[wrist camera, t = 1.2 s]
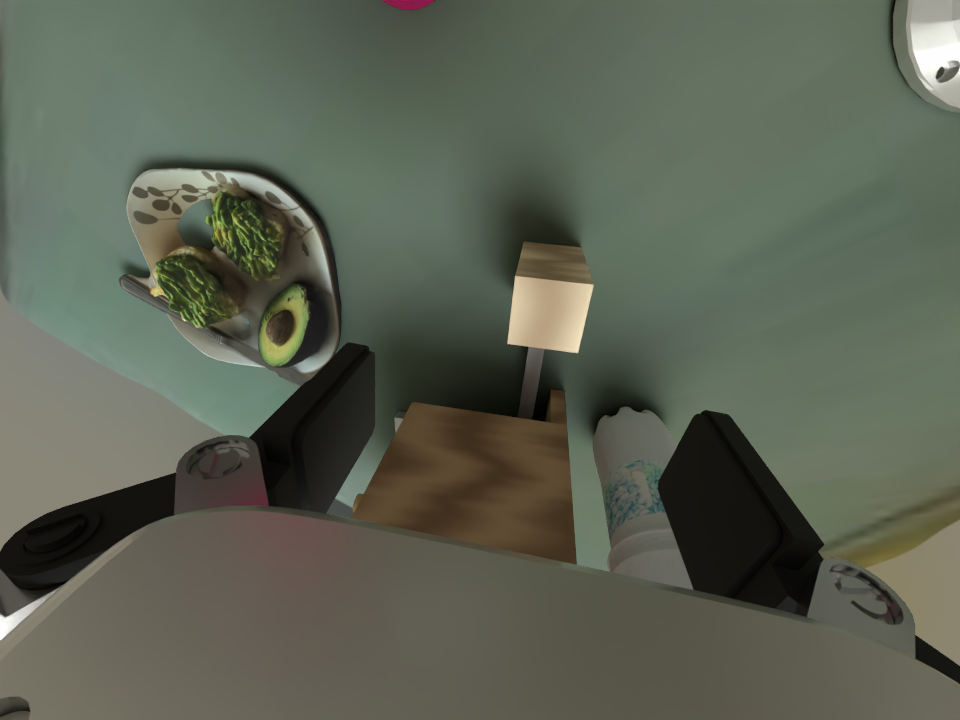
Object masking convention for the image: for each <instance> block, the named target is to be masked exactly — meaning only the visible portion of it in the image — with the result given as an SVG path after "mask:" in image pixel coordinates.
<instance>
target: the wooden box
mask: <svg viewBox="0 0 960 720" xmlns="http://www.w3.org/2000/svg"><path fill="white" fill-rule="evenodd" d="M353 512H354V513H353V516H352V517H351V518H352V519H357V520H362V521H368V522H373V523H378V524H383V525H388V526H393V527H398V528H403V529H408V530H413V531H417V532H422V533H427V534H432V535H437V536H442V537H447V538H451V539H456V540H461V541H466V542H471V543H476V544H481V545H485V546H490V547H495V548H500V549H504V550H509V551H514V552H519V553H523V554H528V555H533V556H537V557H542V558H547V559H552V560H556V561H561V562H566V563H570V564H575V565H577V562H576V547H575V533H574V518H573V504H572V490H571V475H570V461H569V446H568V432H567V418H566V403H565V391H560V390H553V389H550V394H549V399H548V404H547V409H546V414H545V420H544V422H543V421H536V420H529V419H523V418H516V417H510V416H503V415H496V414H490V413H483V412H476V411H470V410H463V409H457V408H450V407H443V406H437V405H430V404H423V403H417V402H412V403H411V405H410V407H409V409H408V411H407V413H406V415H405V416H404V418H403V420H402V422H401V424H400V426H399V428H398V430H397V432H396V434H395V435H394V437H393V439H392V441H391V443H390V445H389V447H388V449H387V451H386V453H385V454H384V456H383V458H382V460H381V462H380V464H379V466H378V468H377V470H376V472H375V474H374V475H373V477H372V479H371V481H370V483H369V485H368V487H367V489H366V491H365V493H364V494H358V495H357V496H356V498H355V501H354V504H353Z"/></svg>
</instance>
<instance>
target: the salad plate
mask: <svg viewBox="0 0 960 720" xmlns="http://www.w3.org/2000/svg"><path fill="white" fill-rule="evenodd" d="M204 199H212V204H213V210H214V211H213V214H212V216H208V215H206V217H205V222H206V223H207V224H208V225H210V226H212V227H213V230H214V233H212V237H211V240H212V242H213V243H214V244H215V246H214V248H213V249H212V250H211V251H209V250H207V249H204V248H202V247H199V246H186V244H185V243H184V241H183V239H182V237H181V235H180V233H179V231H178V229H177V225H178V222H179V220H180V217H181V216H182V214H183V213H184V212H185V211H186V210H187V209H188V208H189V207H190V206H191V205H193V204H194V203H197V202H199V201H202V200H204ZM127 214H128V218H129V222H130V225H131V228H132V230H133V232H134V235H135V237H136V239H137V241H138V243H139V246H140V248H141V250H142V252H143V255H144V257H145V259H146V262H147V264H148V267H149V270H150V272H151V273H150V277H149V278H141V277H136V276H133V275H129V274H125V275H123V276H121V277H120V278H119V283H120V286H121V287H122V288H123V289H124V290H126V291H127V292H128V293H130V294H132V295H133V296H135V297H137V298H139V299H141V300H143V301H144V302H146V303H148V304H150V305H152V306H154V307H156V308H158V309H159V310H161V311H163V312H165V313H167V315H168V316H169V318H170V320H171V321H172V323H173V324H174V326H175V327H176V328H177V330H178V331H179V332H180V333H181V334H182V335H183V337H185V338H186V339H187V340H188V341H189V342H190V343H191V344H192V345H194V346H195V347H196V348H197V349H198V350H200V351H201V352H202V353H204V354H205V355H207V356H209V357H211V358H214V359H217V360H221V361H225V362H229V363H234V364H242V365H249V366H256V367H266V368H268V369H269V370H272V371H274V372H276V373H277V374H278V375H279V376H280V377H282V378H284V379H286V380H288V381H290V382H292V383H295V384H297V385H299V386H302V385H303V384H304V383H305V382H306V381H308V380H311V379H312V378H313V377H314V376H315V375H316V373H317V372H318V371H319V370H320V369H321V368H322V367H323V366H324V365H325V364H326V363H327V362H328V361H329V360H330V359H331V358H332V357H333V356H334V355H335V352H336V350H337V349H338V345H339V340H340V332H341V301H340V294H339V287H338V277H337V270H336V264H335V259H334V255H333V252H332V249H331V246H330V243H329V239H328V236H327V233H326V231H325V228H324V226H323V224H322V223H321V222H320V220H319V219H318V218H317V217H316V215H315V214H314V213H313V212H312V211H311V209H310V208H309V207H308V206H307V205H306V204H305V203H304V202H303V201H302V200H301V199H300V198H299V197H298V196H297V195H296V194H295V193H293V192H292V191H290V190H289V189H288V188H286V187H285V186H284V185H282V184H281V183H279V182H277V181H275V180H273V179H271V178H269V177H266V176H263V175H261V174H258V173H255V172H251V171H247V170H240V169H229V170H213V169H191V168H163V169H150V170H148V171H146V172H143V173H142V174H140V175H139V176H138V177H137V178H136V180H135V181H134V183H133V184H132V187H131V189H130V192H129V195H128V199H127ZM303 251H304V253H305V254H304V253H303ZM243 317H244V318H247V319H248V320H249V322H250V324H249V325H246V324H245V323H244V322H243V320H242V319H243Z"/></svg>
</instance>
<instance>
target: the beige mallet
mask: <svg viewBox="0 0 960 720" xmlns="http://www.w3.org/2000/svg"><path fill="white" fill-rule="evenodd" d="M593 286H594V284H593V281H592V278H591V275H590V272H589V269H588V266H587V263H586V260H585V257H584V254H583V250H582V247H572V246H563V245H553V244H543V243H533V242H524V243H523V247H522V251H521V255H520V259H519V263H518V267H517V271H516V275H515V283H514V291H513V300H512V308H511V317H510V325H509V334H508V343H507V344H512V345H520V346H527V347H528V352H527V359H526V366H525V372H524V379H523V386H522V392H521V399H520V406H519V412H518V418H523V419H529V420H532V418H533V412H534V406H535V401H536V395H537V389H538V384H539V378H540V372H541V367H542V361H543V355H544V350H545V349H550V350H558V351H565V352H573V353H578V351H579V346H580V342H581V338H582V333H583V329H584V325H585V320H586V316H587V312H588V307H589V303H590V299H591V294H592V290H593Z"/></svg>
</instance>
